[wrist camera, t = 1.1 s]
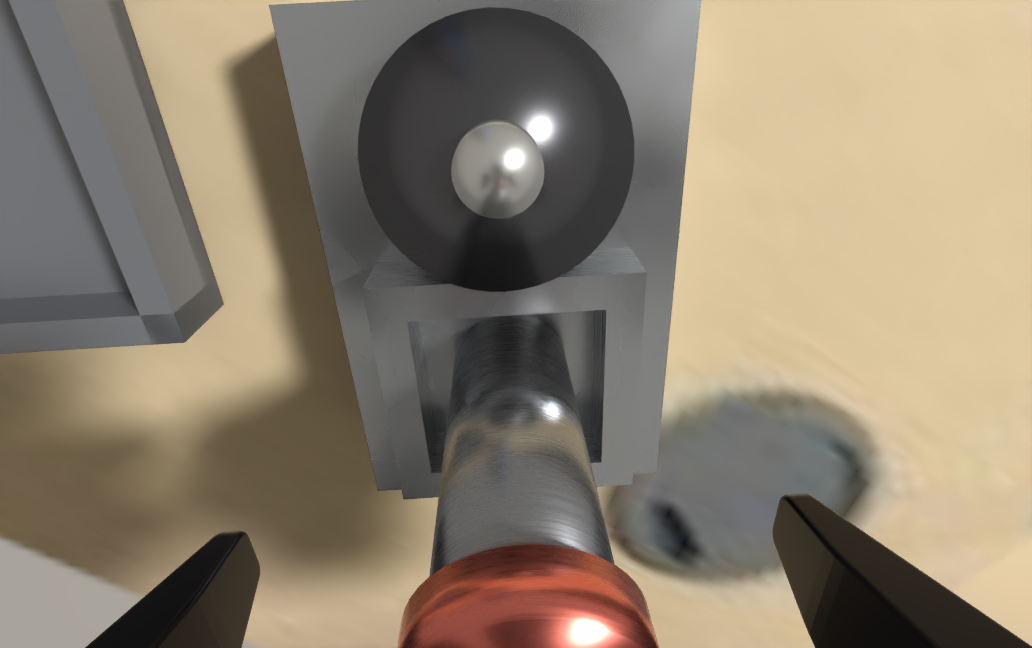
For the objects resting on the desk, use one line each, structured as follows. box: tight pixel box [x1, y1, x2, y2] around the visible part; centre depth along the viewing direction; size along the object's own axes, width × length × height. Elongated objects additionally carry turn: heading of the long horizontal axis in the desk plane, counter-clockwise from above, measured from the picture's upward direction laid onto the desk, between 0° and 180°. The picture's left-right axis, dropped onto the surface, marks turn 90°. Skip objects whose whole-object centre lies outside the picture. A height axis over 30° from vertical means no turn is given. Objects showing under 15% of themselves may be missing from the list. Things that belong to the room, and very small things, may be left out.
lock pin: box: [397, 315, 659, 648], centre depth 10 cm, size 3×3×8 cm
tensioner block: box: [269, 0, 701, 499], centre depth 13 cm, size 12×8×5 cm, turn 3°
